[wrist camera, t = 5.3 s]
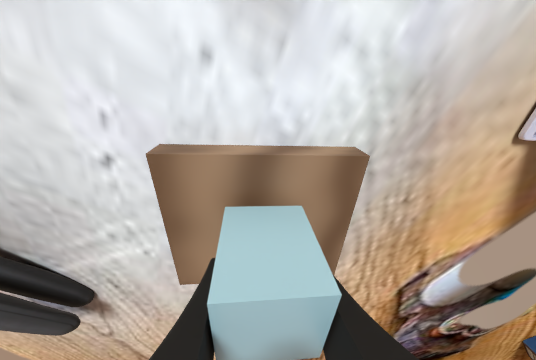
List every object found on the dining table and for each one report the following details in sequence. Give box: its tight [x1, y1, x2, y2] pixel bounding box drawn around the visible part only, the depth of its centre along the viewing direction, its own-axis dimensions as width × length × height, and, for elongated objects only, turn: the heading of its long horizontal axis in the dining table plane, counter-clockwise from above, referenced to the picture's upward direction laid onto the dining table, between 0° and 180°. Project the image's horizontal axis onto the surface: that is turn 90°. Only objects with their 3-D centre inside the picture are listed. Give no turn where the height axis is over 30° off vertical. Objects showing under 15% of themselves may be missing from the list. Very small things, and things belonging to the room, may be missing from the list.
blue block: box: [207, 206, 342, 360], centre depth 11 cm, size 5×5×6 cm
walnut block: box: [146, 144, 370, 285], centre depth 16 cm, size 14×12×2 cm
